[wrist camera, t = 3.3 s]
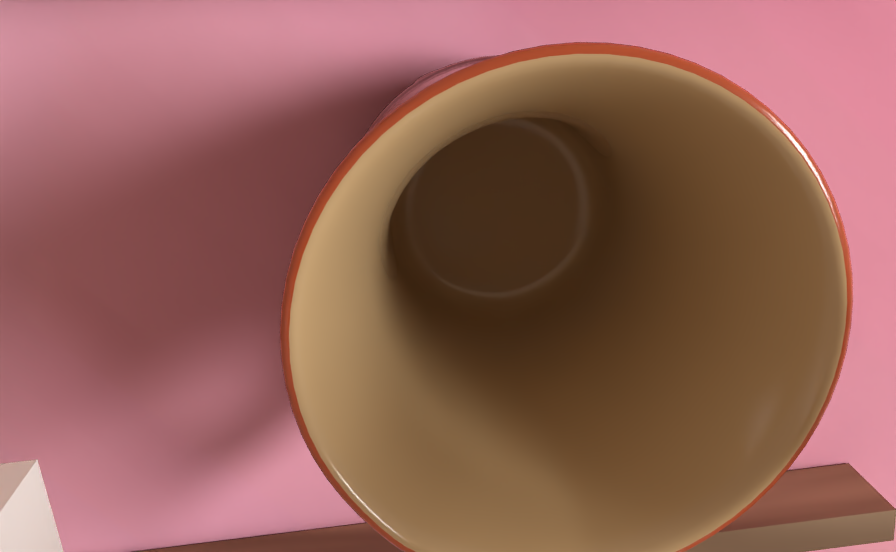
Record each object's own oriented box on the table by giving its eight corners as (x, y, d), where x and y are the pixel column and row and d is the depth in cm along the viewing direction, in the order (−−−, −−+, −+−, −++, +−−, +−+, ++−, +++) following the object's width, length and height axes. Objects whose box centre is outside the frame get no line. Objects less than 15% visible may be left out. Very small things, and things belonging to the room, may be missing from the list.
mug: (365, -19, 21) (355, -37, 11) (695, 75, 22) (950, 133, 12) (266, 415, 24) (191, 699, 14) (558, 473, 25) (672, 769, 16)
